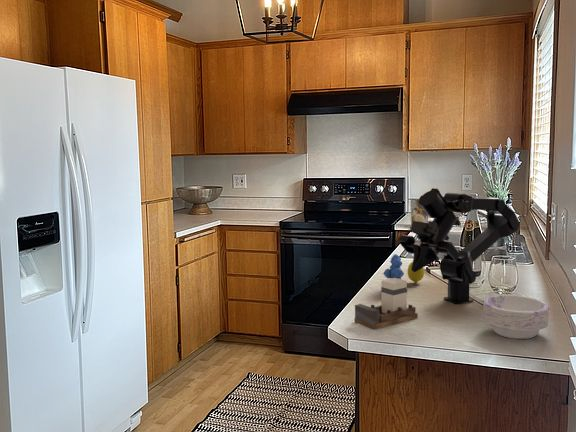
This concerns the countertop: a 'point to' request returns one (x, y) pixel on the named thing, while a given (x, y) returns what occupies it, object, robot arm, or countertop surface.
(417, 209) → the coffee box
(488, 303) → the paper bowls
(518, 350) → the countertop surface
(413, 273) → the lemon
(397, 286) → the white banded pillar
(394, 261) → the grapes
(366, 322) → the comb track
